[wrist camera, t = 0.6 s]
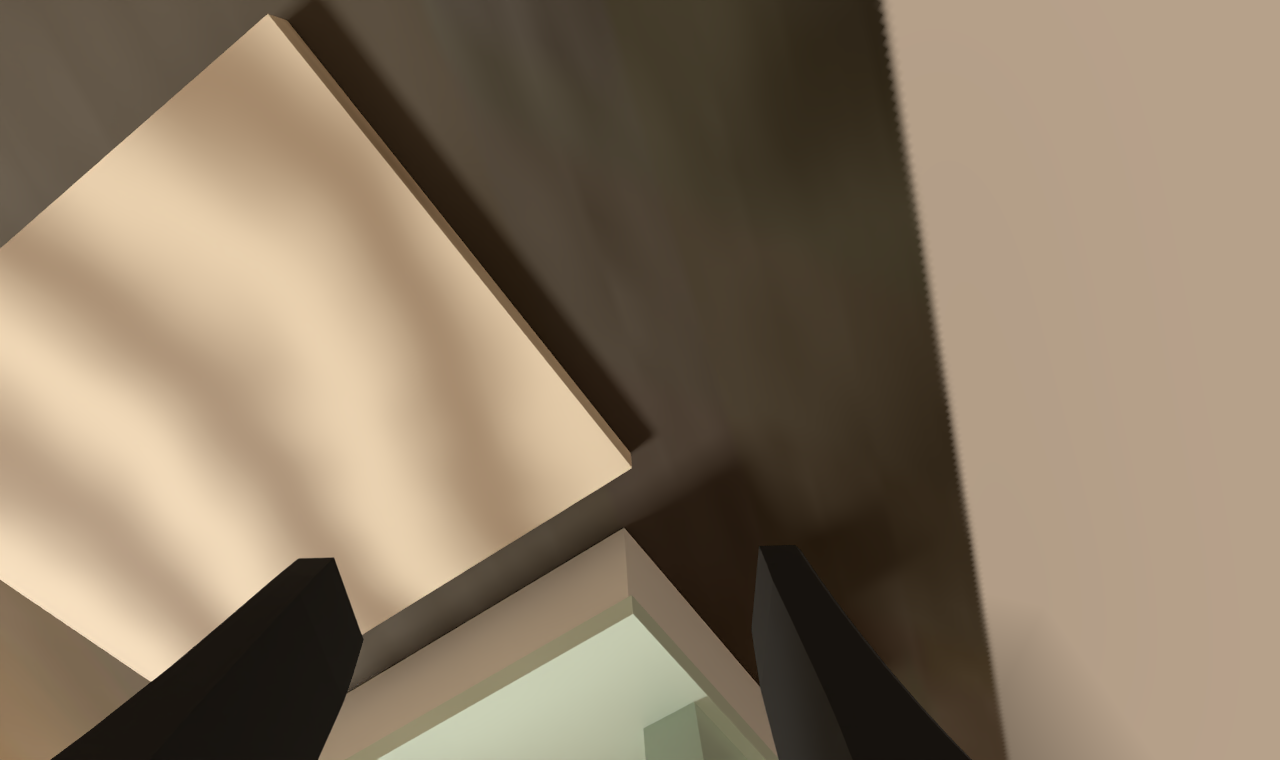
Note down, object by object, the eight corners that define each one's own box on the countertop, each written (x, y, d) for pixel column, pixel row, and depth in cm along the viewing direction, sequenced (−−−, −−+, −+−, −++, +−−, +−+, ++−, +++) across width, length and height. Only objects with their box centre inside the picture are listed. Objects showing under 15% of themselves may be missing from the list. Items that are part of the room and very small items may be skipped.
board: (229, 703, 25) (215, 725, 24) (-174, 420, 19) (-213, 435, 18) (630, 453, 21) (632, 468, 21) (286, 20, 16) (267, 13, 15)
